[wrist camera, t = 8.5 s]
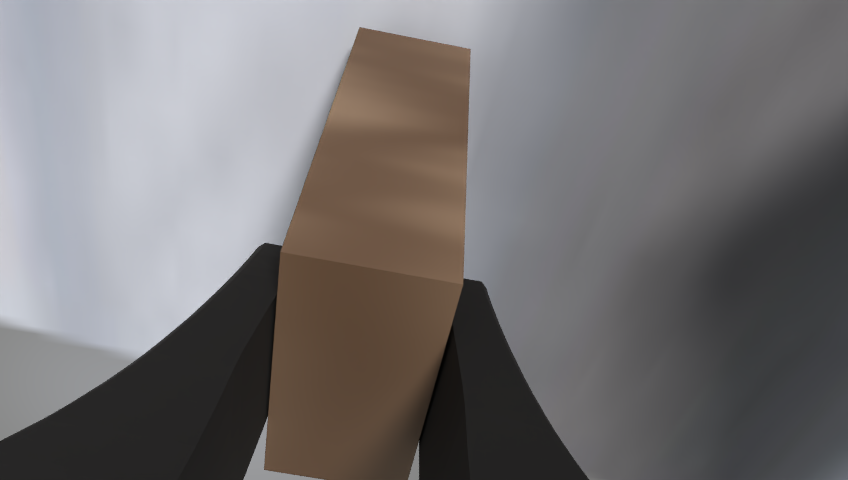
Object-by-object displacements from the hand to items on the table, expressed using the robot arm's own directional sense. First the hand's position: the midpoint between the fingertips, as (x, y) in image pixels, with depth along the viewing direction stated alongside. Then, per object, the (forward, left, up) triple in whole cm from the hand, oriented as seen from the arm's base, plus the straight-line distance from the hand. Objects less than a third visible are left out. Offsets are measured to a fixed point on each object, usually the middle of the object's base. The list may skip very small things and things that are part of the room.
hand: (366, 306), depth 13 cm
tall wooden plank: (0, 0, -6) cm, 6 cm away
